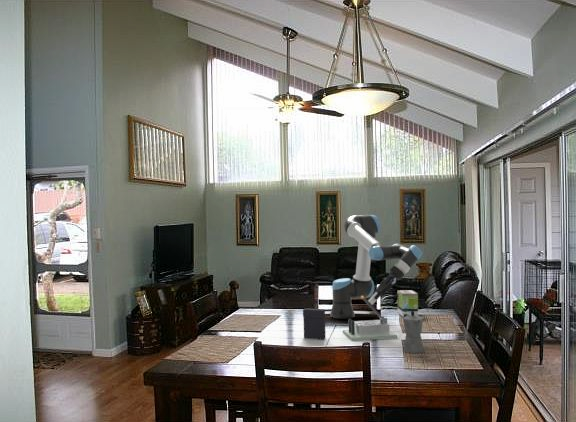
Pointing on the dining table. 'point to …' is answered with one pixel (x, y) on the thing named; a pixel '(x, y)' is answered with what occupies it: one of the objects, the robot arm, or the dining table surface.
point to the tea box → (407, 302)
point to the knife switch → (369, 327)
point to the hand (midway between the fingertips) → (370, 302)
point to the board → (369, 336)
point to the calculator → (314, 323)
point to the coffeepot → (413, 333)
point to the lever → (372, 307)
